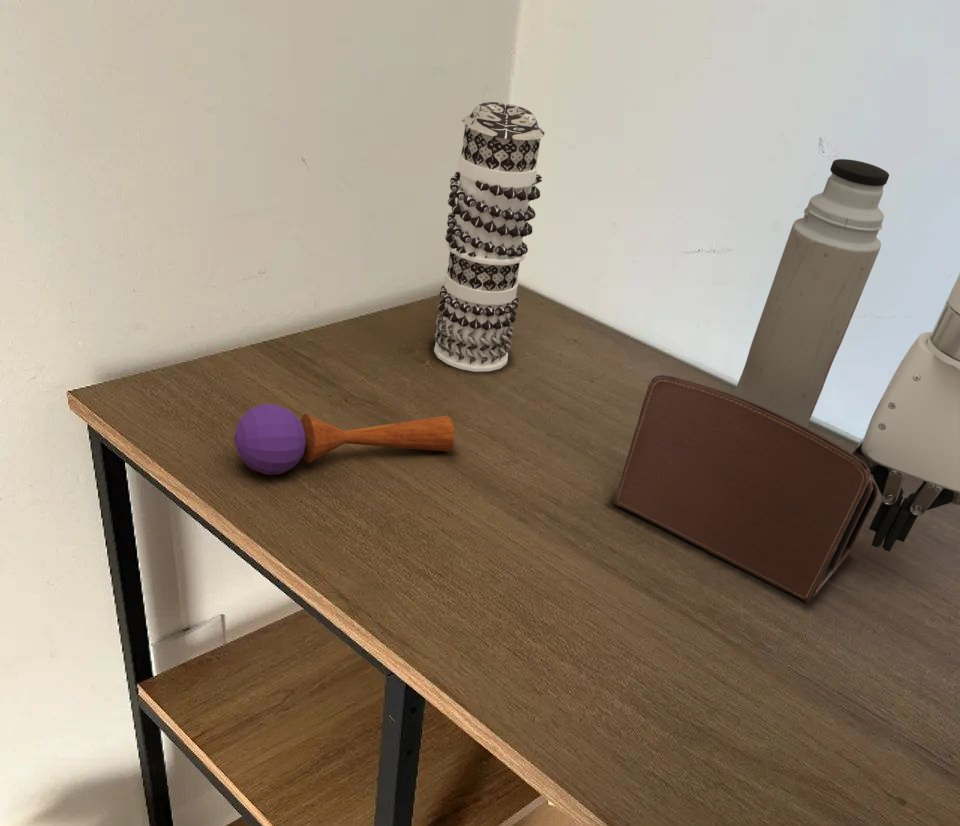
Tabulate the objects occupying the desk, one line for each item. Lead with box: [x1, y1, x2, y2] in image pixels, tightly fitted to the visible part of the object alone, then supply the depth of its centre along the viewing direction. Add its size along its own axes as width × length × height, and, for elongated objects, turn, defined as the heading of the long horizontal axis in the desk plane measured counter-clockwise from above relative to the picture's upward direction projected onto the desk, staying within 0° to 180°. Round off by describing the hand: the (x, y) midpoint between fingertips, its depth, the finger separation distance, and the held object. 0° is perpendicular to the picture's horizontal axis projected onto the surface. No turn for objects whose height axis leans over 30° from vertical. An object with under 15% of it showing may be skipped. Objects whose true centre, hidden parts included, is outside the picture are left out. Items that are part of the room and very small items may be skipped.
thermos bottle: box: [733, 158, 890, 428], centre depth 92 cm, size 8×8×28 cm
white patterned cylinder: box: [433, 101, 545, 373], centre depth 100 cm, size 9×9×25 cm
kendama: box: [233, 403, 455, 476], centre depth 87 cm, size 6×6×20 cm
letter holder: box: [613, 374, 879, 604], centre depth 84 cm, size 10×20×14 cm, turn 54°
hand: (882, 540), depth 83 cm, fingers closed
